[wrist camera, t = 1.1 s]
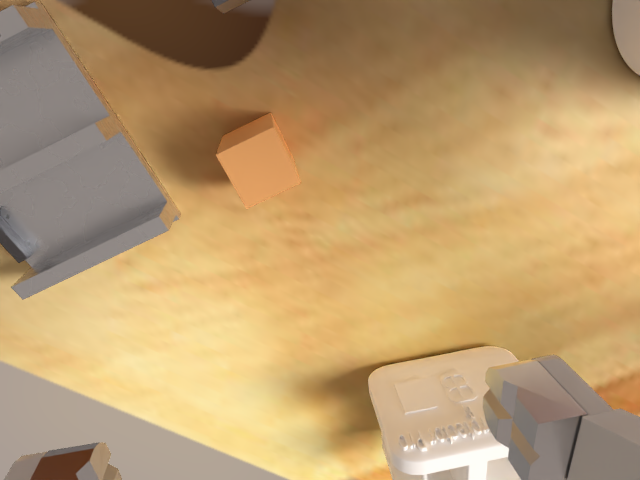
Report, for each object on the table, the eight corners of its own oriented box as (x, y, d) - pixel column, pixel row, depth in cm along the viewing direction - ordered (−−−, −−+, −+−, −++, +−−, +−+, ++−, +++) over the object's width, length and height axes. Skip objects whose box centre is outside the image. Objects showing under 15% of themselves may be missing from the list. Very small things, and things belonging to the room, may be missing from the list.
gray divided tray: (41, 3, 26) (7, -3, 23) (181, 214, 33) (171, 234, 30) (-119, 87, 27) (-176, 94, 23) (51, 276, 34) (26, 303, 30)
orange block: (270, 112, 31) (273, 126, 26) (294, 160, 33) (301, 183, 27) (222, 135, 31) (215, 154, 26) (248, 181, 33) (246, 209, 28)
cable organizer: (369, 432, 47) (401, 542, 37) (362, 361, 42) (396, 464, 32) (496, 406, 48) (562, 506, 38) (502, 333, 43) (580, 425, 33)
